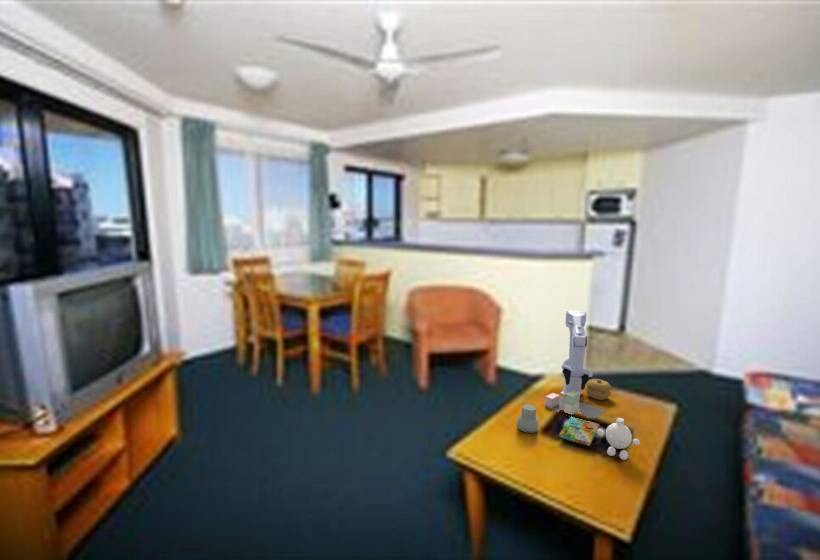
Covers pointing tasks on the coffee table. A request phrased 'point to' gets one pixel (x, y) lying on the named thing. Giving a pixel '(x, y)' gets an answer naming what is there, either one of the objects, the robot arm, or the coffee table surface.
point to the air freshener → (528, 419)
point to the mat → (584, 408)
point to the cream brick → (571, 408)
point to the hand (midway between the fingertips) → (575, 386)
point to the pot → (598, 389)
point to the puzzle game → (579, 431)
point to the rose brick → (552, 400)
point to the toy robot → (618, 438)
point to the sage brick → (572, 398)
